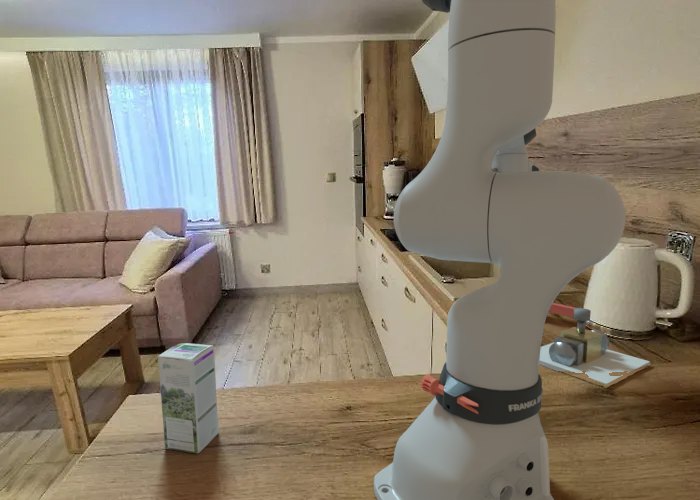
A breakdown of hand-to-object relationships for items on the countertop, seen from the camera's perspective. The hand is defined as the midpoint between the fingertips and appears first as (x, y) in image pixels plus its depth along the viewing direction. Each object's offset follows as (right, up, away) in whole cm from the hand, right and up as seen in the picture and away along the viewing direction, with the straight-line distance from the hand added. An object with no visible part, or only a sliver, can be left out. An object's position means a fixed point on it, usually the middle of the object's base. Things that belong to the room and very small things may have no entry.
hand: (508, 229), depth 93 cm
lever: (+12, -20, -1) cm, 23 cm away
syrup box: (-61, -34, -33) cm, 77 cm away
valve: (+14, -30, -4) cm, 33 cm away
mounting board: (+15, -30, -5) cm, 34 cm away
